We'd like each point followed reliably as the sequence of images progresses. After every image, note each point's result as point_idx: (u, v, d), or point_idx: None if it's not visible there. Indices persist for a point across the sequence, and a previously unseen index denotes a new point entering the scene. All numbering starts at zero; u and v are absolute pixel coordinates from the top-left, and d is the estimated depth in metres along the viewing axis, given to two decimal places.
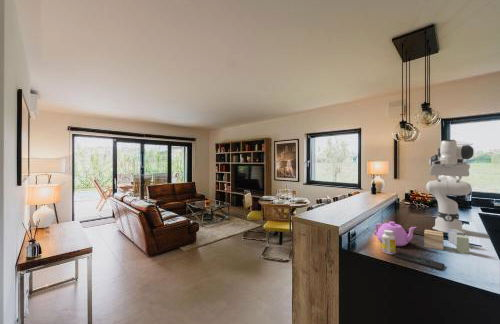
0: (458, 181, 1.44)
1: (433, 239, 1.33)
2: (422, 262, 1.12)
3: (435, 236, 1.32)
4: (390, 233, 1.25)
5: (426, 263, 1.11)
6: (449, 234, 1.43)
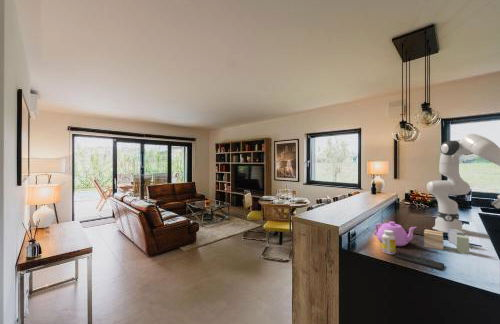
0: (496, 205, 1.22)
1: (433, 239, 1.33)
2: (422, 262, 1.12)
3: (435, 236, 1.32)
4: (390, 233, 1.25)
5: (426, 263, 1.11)
6: (449, 234, 1.43)
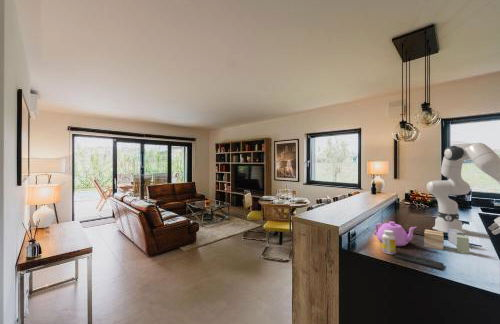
0: None
1: (434, 239, 1.33)
2: (422, 262, 1.12)
3: (435, 236, 1.32)
4: (390, 233, 1.25)
5: (426, 263, 1.11)
6: (449, 234, 1.43)
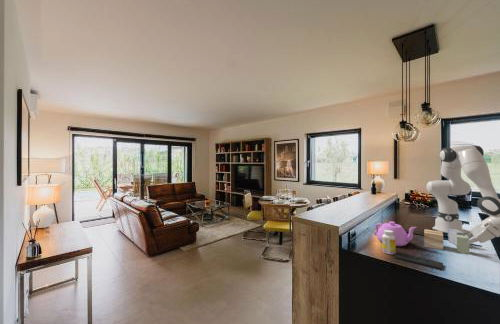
0: (469, 238, 1.29)
1: (433, 239, 1.33)
2: (422, 262, 1.12)
3: (435, 236, 1.33)
4: (390, 233, 1.25)
5: (426, 263, 1.11)
6: (449, 234, 1.43)
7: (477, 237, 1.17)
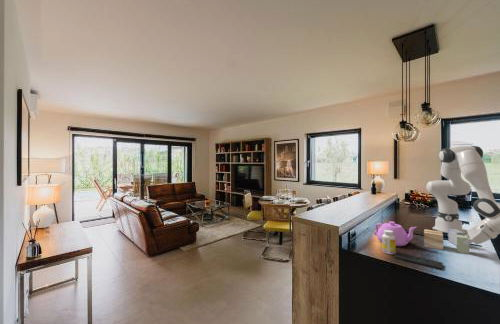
0: None
1: (433, 239, 1.33)
2: (422, 262, 1.12)
3: (435, 236, 1.33)
4: (390, 233, 1.25)
5: (426, 263, 1.11)
6: (449, 234, 1.43)
7: (473, 239, 1.18)
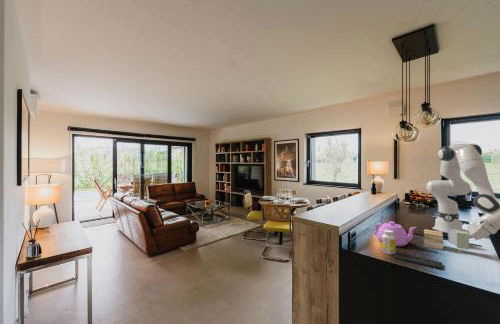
0: None
1: (433, 239, 1.33)
2: (422, 262, 1.12)
3: (435, 236, 1.33)
4: (390, 233, 1.25)
5: (426, 263, 1.11)
6: (449, 234, 1.43)
7: (473, 234, 1.18)
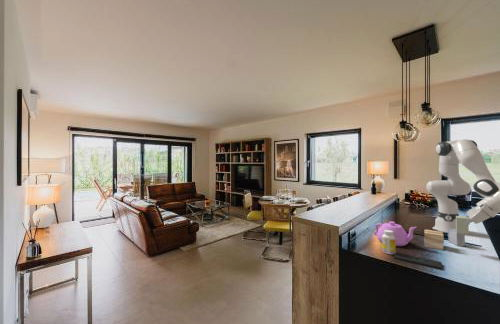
0: None
1: (434, 239, 1.33)
2: (422, 262, 1.13)
3: (435, 236, 1.33)
4: (390, 233, 1.25)
5: (426, 263, 1.12)
6: (449, 234, 1.43)
7: (472, 218, 1.18)
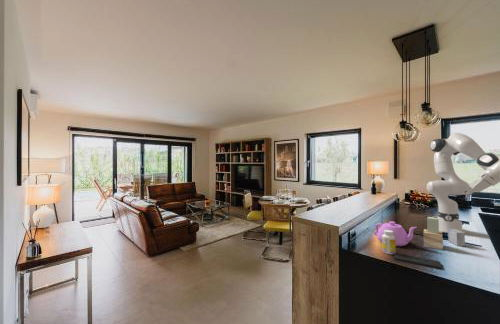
0: None
1: (433, 239, 1.34)
2: (422, 262, 1.12)
3: (434, 235, 1.33)
4: (390, 233, 1.25)
5: (426, 263, 1.11)
6: (449, 234, 1.43)
7: (474, 187, 1.25)
